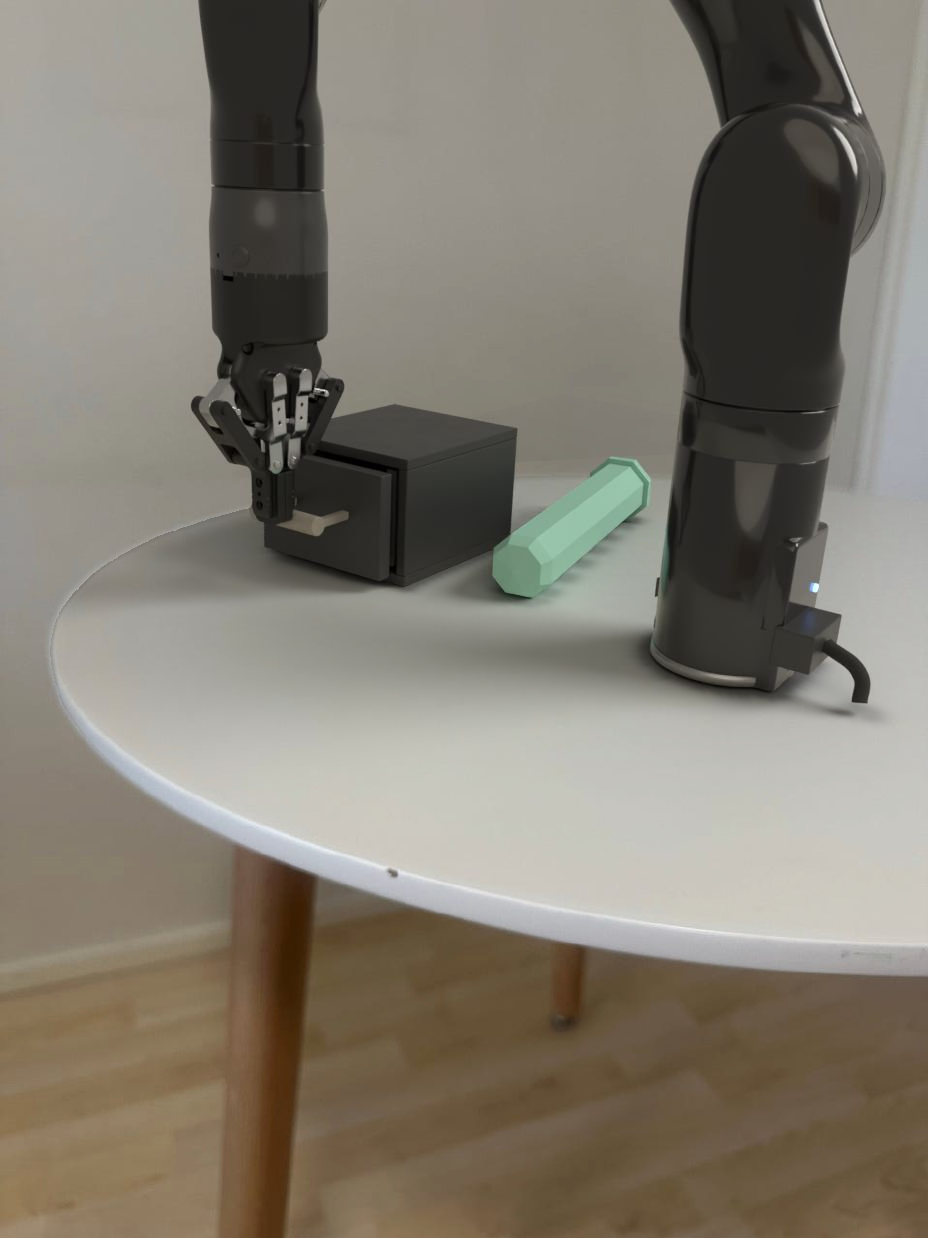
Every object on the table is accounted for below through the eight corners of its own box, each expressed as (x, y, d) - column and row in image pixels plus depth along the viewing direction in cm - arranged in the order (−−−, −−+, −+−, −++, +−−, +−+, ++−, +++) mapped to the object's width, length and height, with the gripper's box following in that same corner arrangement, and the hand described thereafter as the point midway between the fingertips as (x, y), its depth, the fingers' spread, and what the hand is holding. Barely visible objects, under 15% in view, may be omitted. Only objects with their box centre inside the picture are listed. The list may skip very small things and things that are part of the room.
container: (537, 524, 80) (642, 448, 101) (465, 542, 83) (581, 463, 104) (562, 603, 82) (660, 511, 103) (490, 617, 85) (600, 525, 106)
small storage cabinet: (404, 587, 85) (407, 460, 82) (278, 549, 92) (276, 430, 88) (510, 541, 96) (518, 427, 93) (391, 510, 103) (394, 403, 99)
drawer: (341, 597, 80) (342, 488, 77) (224, 560, 86) (220, 458, 83) (483, 538, 94) (488, 444, 91) (373, 510, 100) (375, 420, 97)
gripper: (295, 254, 81) (297, 492, 88) (150, 262, 71) (164, 531, 77) (379, 263, 77) (374, 511, 84) (238, 273, 67) (245, 555, 74)
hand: (273, 520), depth 81 cm, fingers closed
